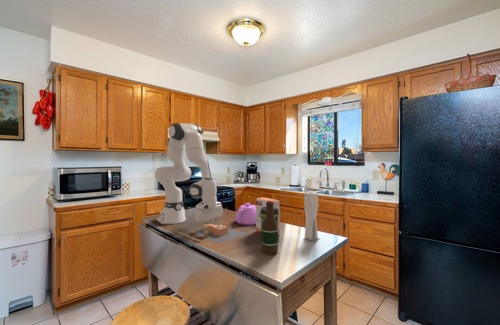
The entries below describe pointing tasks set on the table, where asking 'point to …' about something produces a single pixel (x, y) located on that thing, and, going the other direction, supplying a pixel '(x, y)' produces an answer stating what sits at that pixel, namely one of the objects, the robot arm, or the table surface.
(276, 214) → the coffee jar
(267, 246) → the beer bottle
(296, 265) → the table surface
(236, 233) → the board
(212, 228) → the square column with socket
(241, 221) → the teapot
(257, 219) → the cracker box
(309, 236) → the skyscraper
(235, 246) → the table surface
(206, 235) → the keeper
